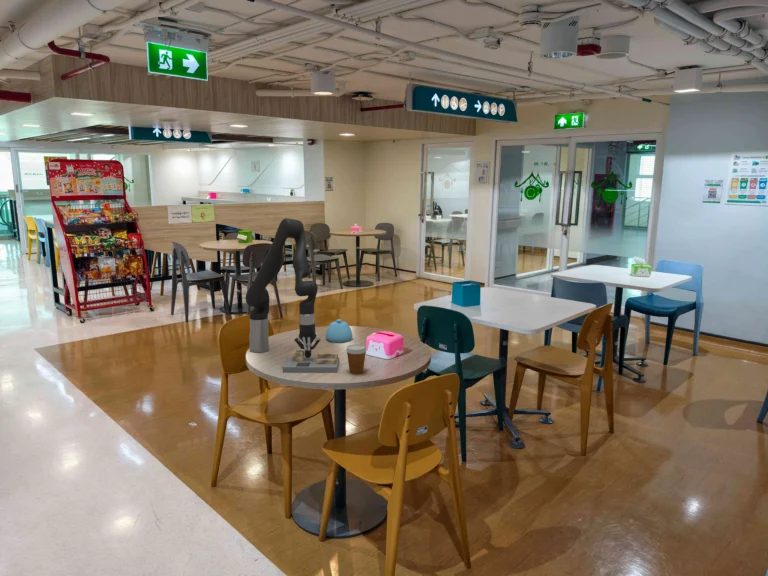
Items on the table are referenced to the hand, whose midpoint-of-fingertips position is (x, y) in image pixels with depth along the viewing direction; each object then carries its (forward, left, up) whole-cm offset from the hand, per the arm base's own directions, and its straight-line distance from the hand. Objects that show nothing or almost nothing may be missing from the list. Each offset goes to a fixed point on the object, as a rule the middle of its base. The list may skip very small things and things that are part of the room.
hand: (308, 357), depth 270 cm
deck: (+2, -3, -4) cm, 6 cm away
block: (-5, 0, -1) cm, 5 cm away
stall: (+9, -1, -1) cm, 9 cm away
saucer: (-6, +11, -4) cm, 13 cm away
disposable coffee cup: (+24, -10, -4) cm, 26 cm away
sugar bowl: (+12, +45, -4) cm, 47 cm away
